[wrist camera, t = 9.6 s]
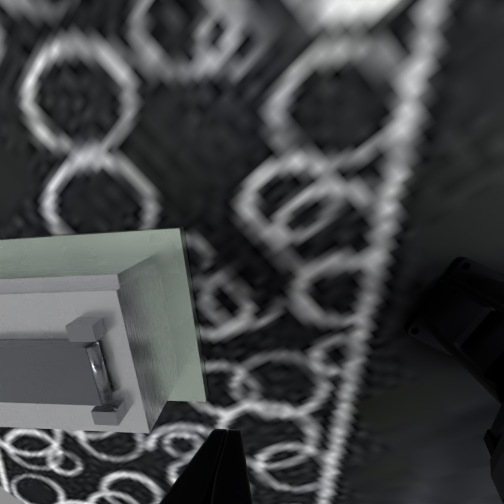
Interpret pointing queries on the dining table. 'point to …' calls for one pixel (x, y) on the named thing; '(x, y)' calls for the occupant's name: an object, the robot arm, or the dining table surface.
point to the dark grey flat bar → (53, 372)
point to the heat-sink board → (107, 321)
